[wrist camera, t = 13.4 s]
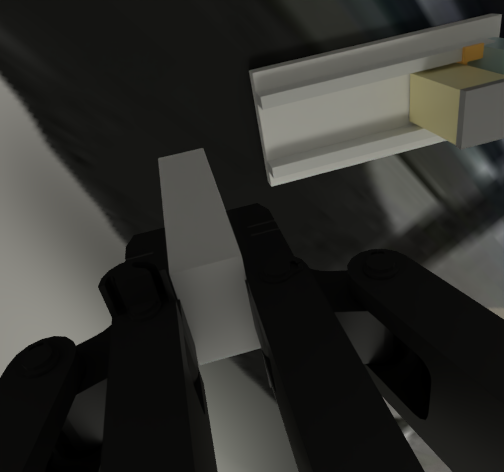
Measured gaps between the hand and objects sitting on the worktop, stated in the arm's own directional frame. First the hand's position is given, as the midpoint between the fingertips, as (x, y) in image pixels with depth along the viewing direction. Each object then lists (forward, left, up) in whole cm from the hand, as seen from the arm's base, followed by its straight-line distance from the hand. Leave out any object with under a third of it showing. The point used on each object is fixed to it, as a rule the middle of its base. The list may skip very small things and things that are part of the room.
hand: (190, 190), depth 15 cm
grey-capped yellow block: (+9, +27, -28) cm, 40 cm away
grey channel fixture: (+9, +22, -30) cm, 38 cm away
